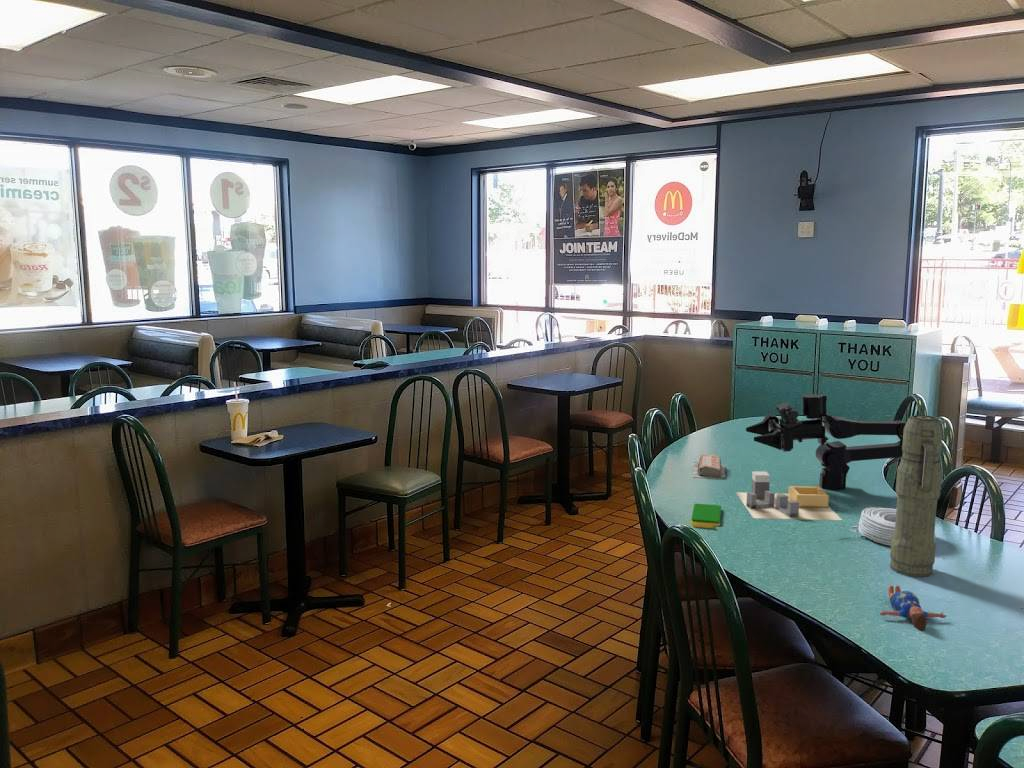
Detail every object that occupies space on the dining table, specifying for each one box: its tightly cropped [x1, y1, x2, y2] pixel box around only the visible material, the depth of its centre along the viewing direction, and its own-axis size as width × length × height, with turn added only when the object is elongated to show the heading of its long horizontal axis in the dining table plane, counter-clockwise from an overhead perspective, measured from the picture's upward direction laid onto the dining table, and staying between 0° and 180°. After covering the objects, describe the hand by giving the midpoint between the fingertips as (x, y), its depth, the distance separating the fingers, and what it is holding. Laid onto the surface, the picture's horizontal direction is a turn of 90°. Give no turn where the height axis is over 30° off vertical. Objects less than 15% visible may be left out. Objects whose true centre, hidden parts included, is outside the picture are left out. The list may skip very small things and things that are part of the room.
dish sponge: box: [690, 503, 722, 530], centre depth 216 cm, size 7×14×2 cm, turn 164°
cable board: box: [735, 491, 843, 521], centre depth 225 cm, size 23×23×1 cm
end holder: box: [787, 485, 830, 508], centre depth 226 cm, size 8×8×4 cm
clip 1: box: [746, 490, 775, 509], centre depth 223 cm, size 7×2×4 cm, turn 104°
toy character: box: [879, 584, 947, 631], centre depth 160 cm, size 12×5×15 cm
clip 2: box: [776, 495, 799, 517], centre depth 218 cm, size 7×2×4 cm, turn 12°
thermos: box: [889, 414, 943, 578], centre depth 179 cm, size 9×12×35 cm
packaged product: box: [692, 454, 726, 480], centre depth 259 cm, size 18×5×10 cm
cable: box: [848, 507, 936, 547], centre depth 202 cm, size 18×18×6 cm
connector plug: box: [750, 471, 771, 499], centre depth 232 cm, size 4×4×7 cm
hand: (749, 434), depth 240 cm, fingers open, 9 cm apart
